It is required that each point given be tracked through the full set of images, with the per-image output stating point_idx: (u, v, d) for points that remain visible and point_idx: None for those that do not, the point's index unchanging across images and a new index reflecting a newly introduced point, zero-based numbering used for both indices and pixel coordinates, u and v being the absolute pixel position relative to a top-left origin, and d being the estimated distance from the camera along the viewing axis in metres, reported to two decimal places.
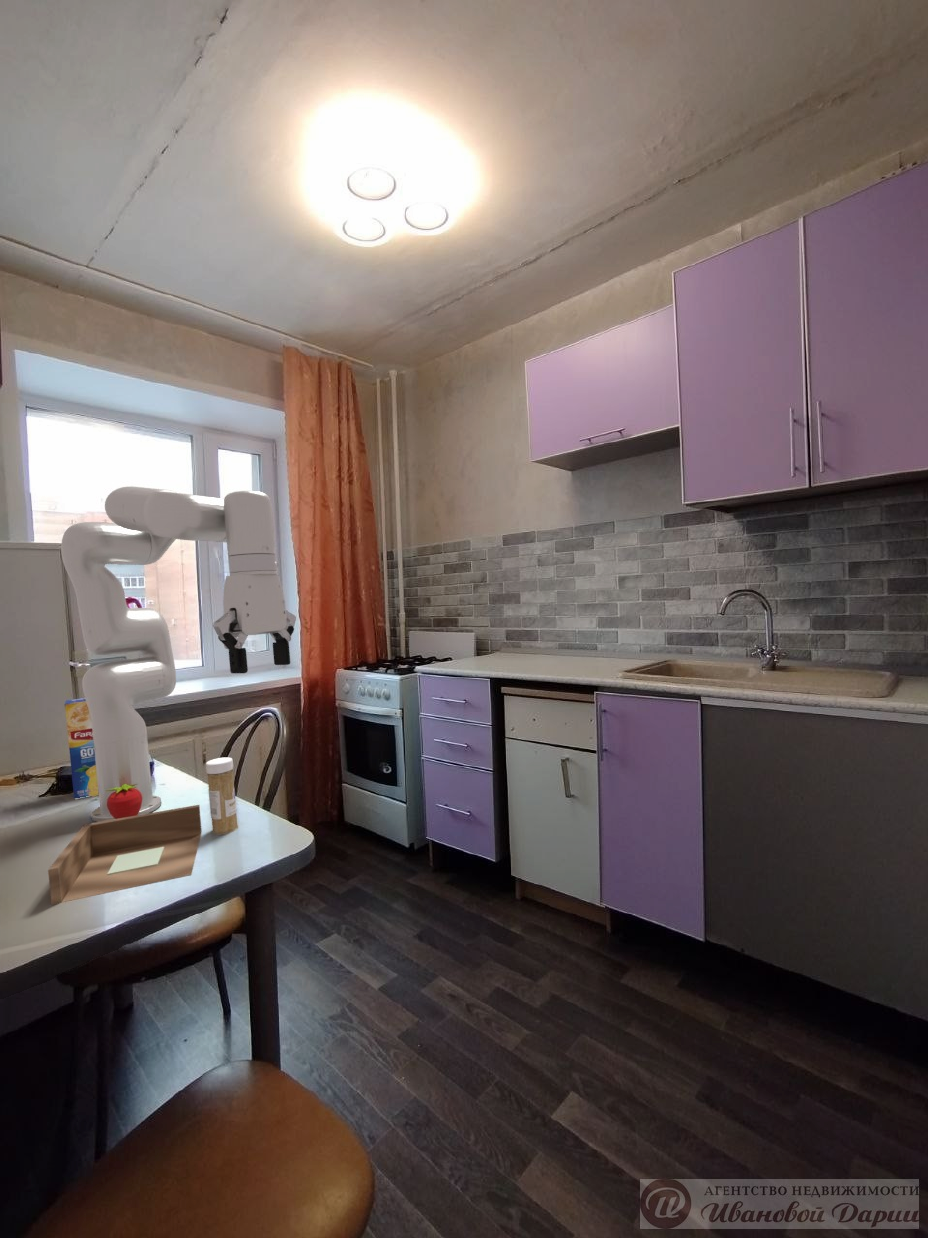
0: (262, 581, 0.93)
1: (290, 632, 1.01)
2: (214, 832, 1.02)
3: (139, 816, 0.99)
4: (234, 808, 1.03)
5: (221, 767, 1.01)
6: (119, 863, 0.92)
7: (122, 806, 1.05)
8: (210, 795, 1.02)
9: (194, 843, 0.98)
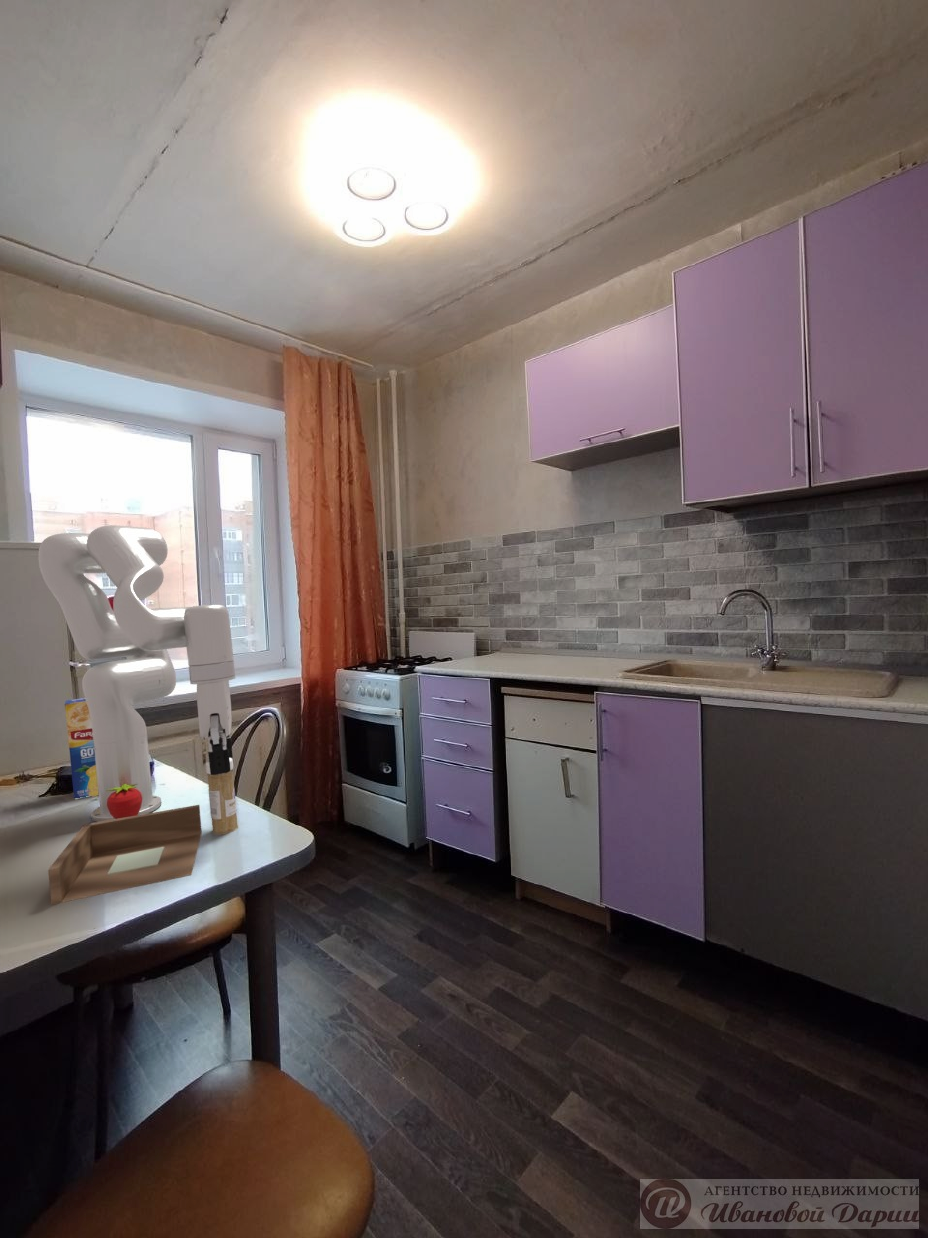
0: (228, 685, 1.03)
1: None
2: (214, 832, 1.02)
3: (139, 816, 0.99)
4: (234, 808, 1.03)
5: None
6: (119, 863, 0.92)
7: (122, 806, 1.05)
8: (210, 795, 1.02)
9: (194, 843, 0.98)
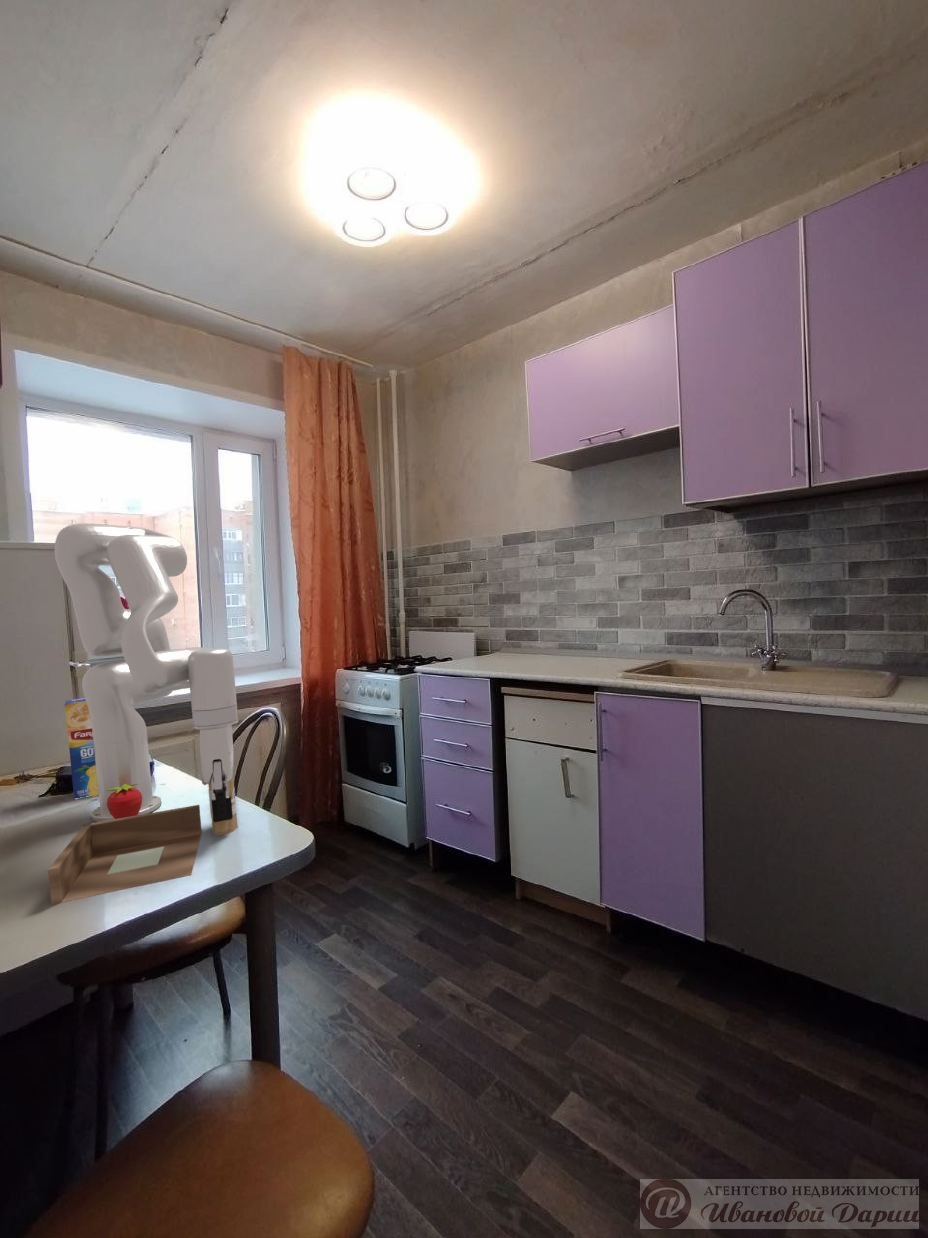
0: (231, 729, 1.03)
1: None
2: (214, 832, 1.02)
3: (139, 816, 0.99)
4: (234, 808, 1.03)
5: None
6: (119, 863, 0.92)
7: (122, 806, 1.05)
8: (210, 795, 1.02)
9: (194, 843, 0.98)
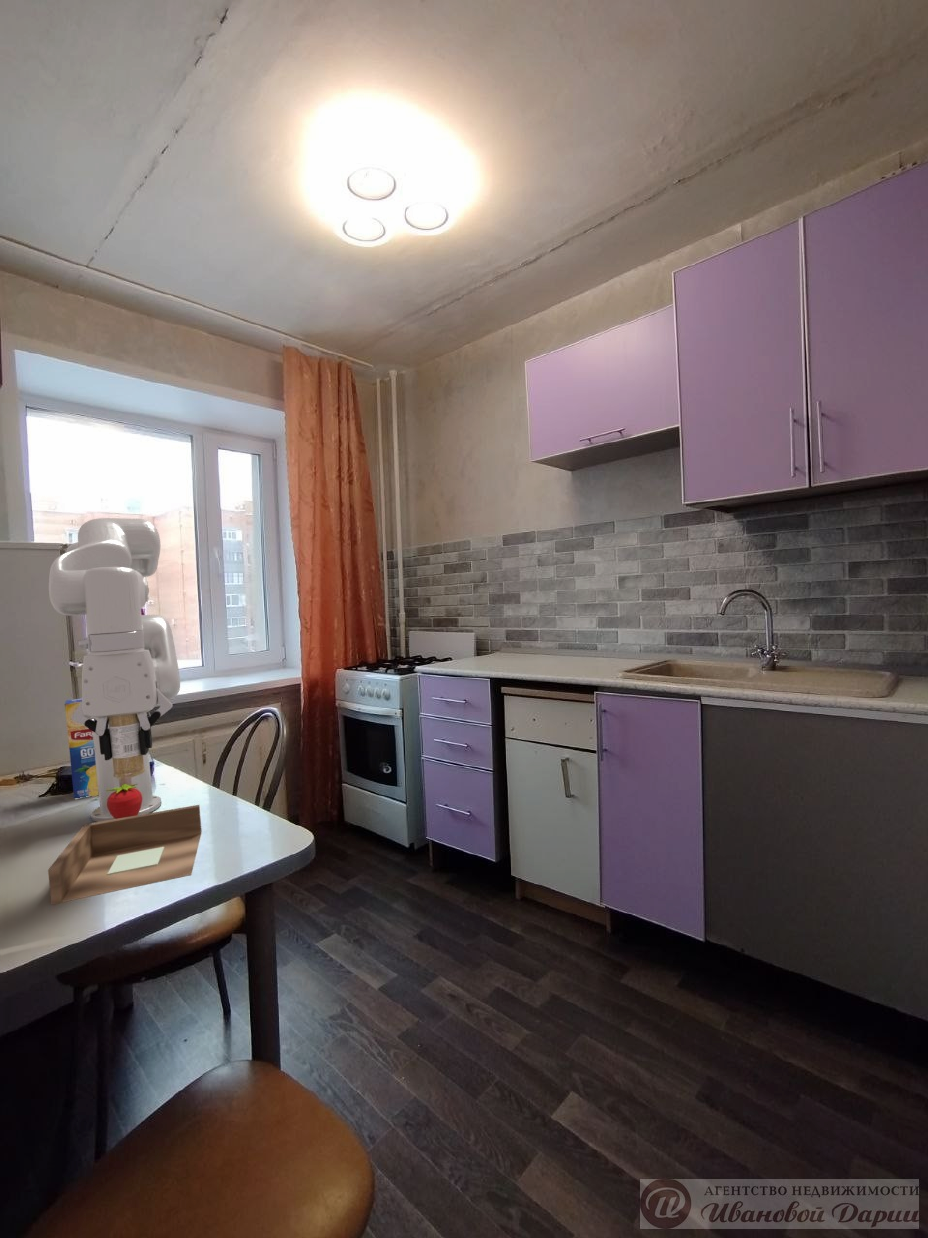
0: None
1: None
2: (135, 771, 0.91)
3: (139, 816, 0.99)
4: None
5: None
6: (119, 863, 0.92)
7: (122, 806, 1.05)
8: (130, 730, 0.91)
9: (194, 843, 0.98)
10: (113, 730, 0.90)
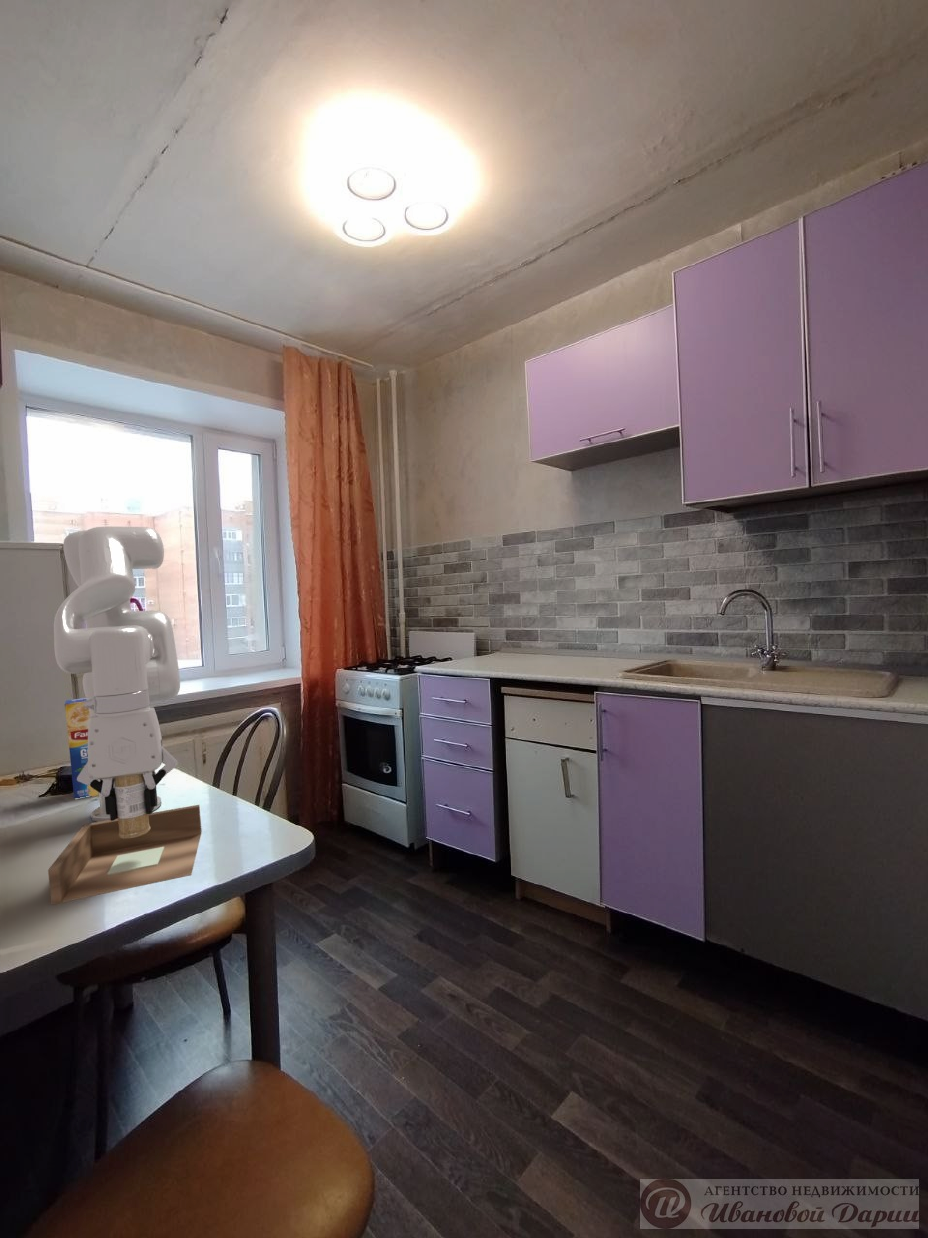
0: None
1: None
2: (141, 830, 0.91)
3: None
4: None
5: None
6: (119, 863, 0.92)
7: None
8: (135, 790, 0.91)
9: (194, 843, 0.98)
10: (119, 790, 0.90)
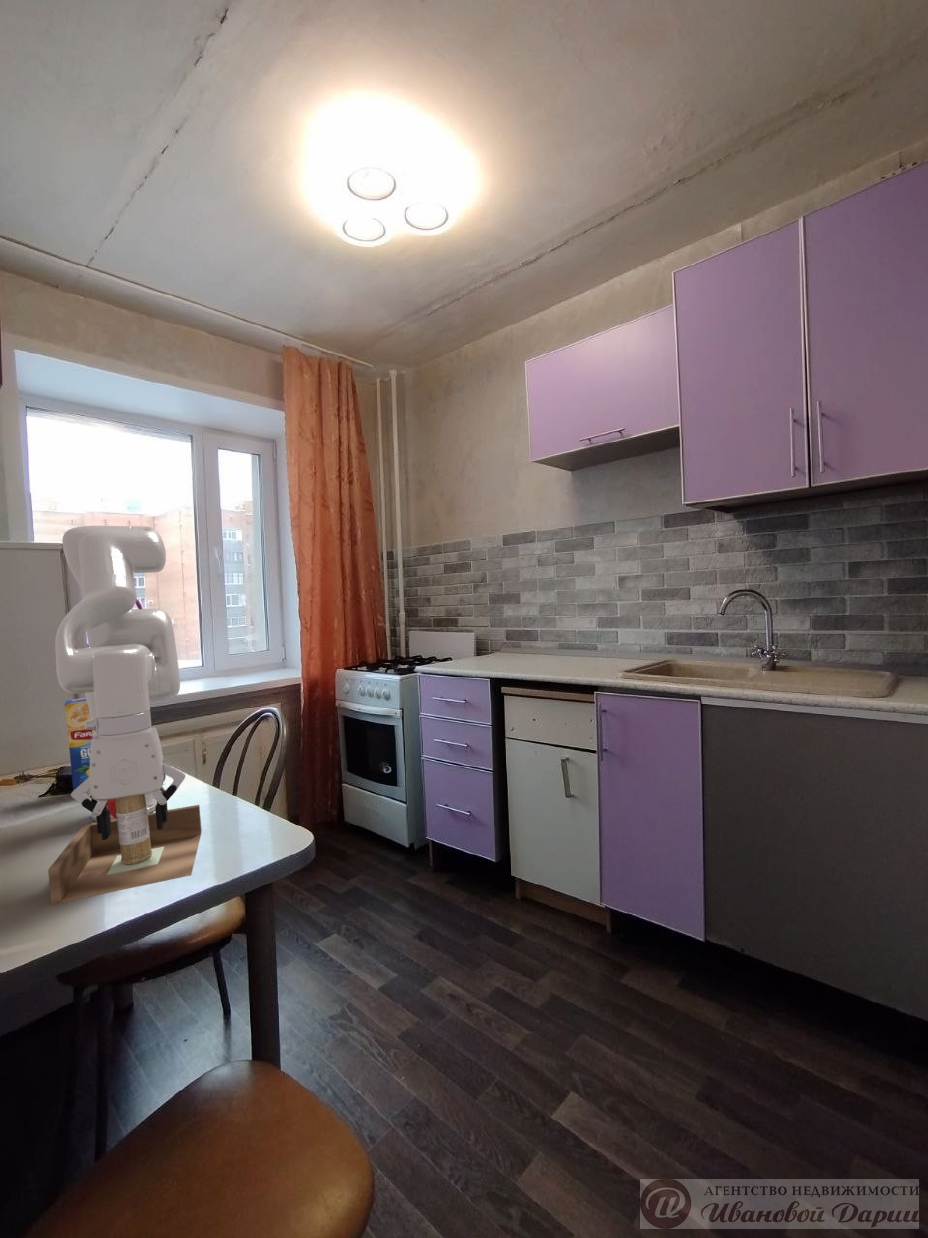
0: None
1: None
2: (142, 856, 0.92)
3: None
4: None
5: None
6: (119, 863, 0.92)
7: None
8: (137, 816, 0.91)
9: (194, 843, 0.98)
10: (120, 817, 0.90)
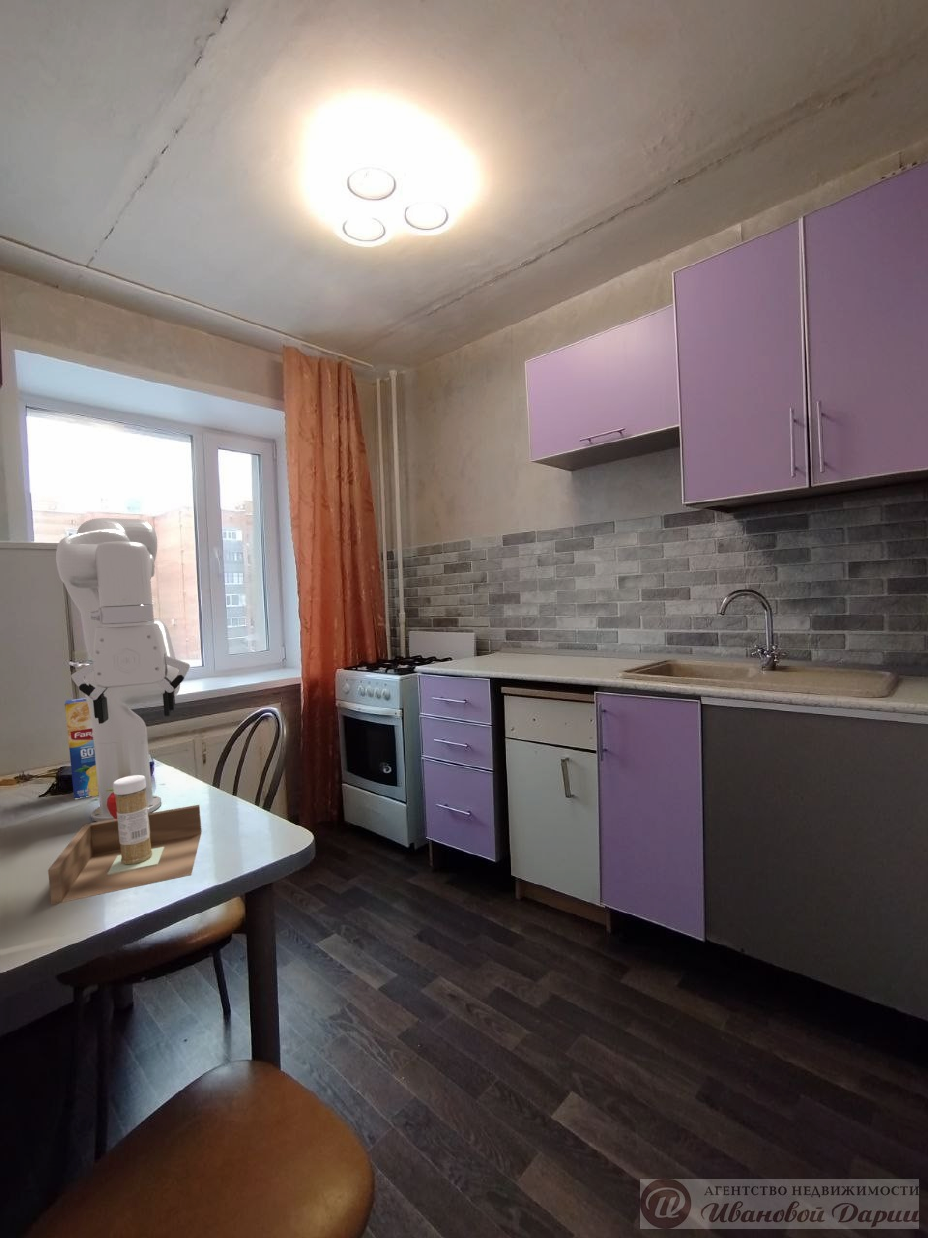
0: None
1: None
2: (143, 856, 0.92)
3: None
4: None
5: (145, 780, 0.94)
6: (119, 863, 0.92)
7: None
8: (137, 816, 0.91)
9: (194, 843, 0.98)
10: (121, 817, 0.90)
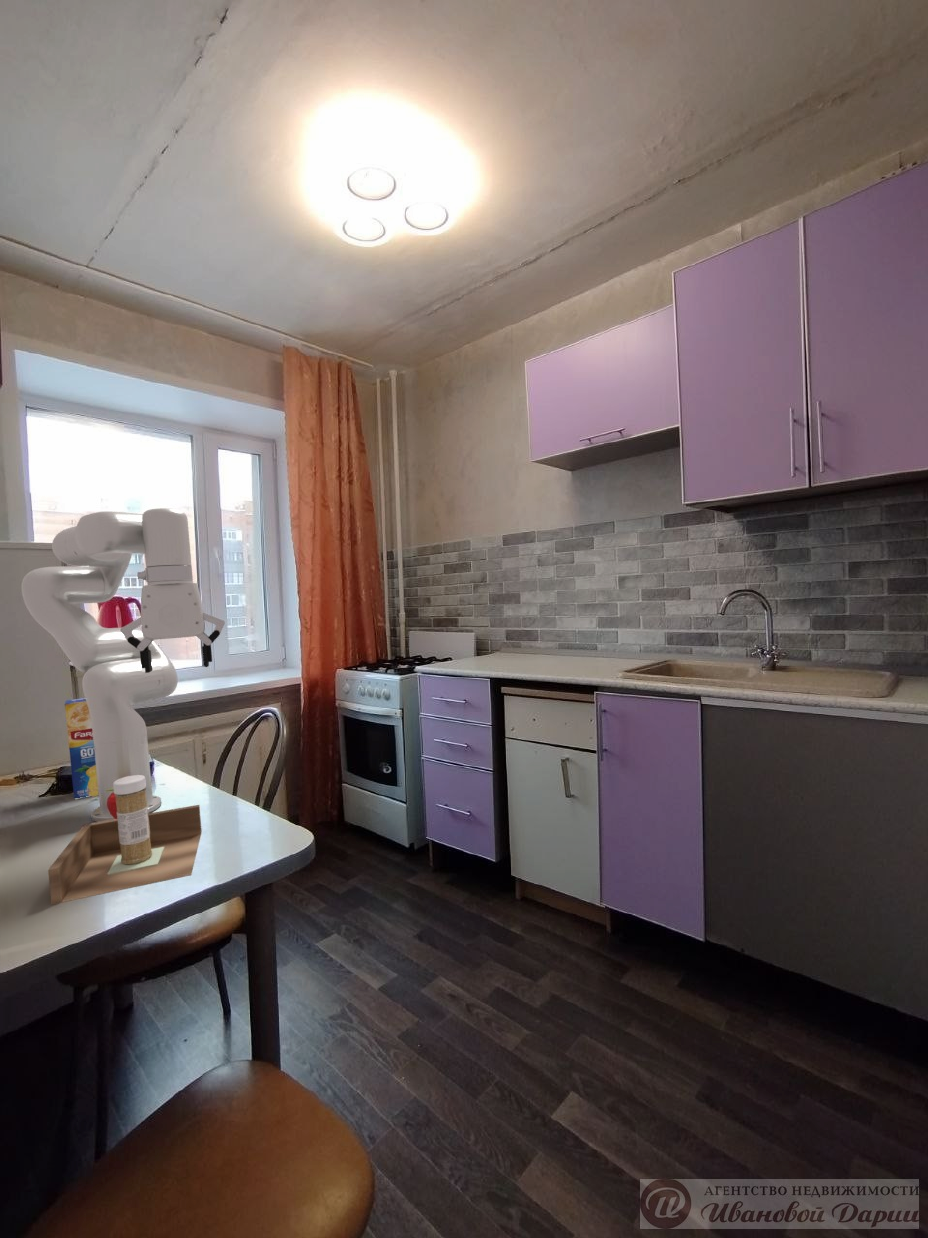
0: None
1: None
2: (143, 856, 0.92)
3: None
4: None
5: (145, 780, 0.94)
6: (119, 863, 0.92)
7: None
8: (137, 816, 0.91)
9: (194, 843, 0.98)
10: (121, 817, 0.91)
